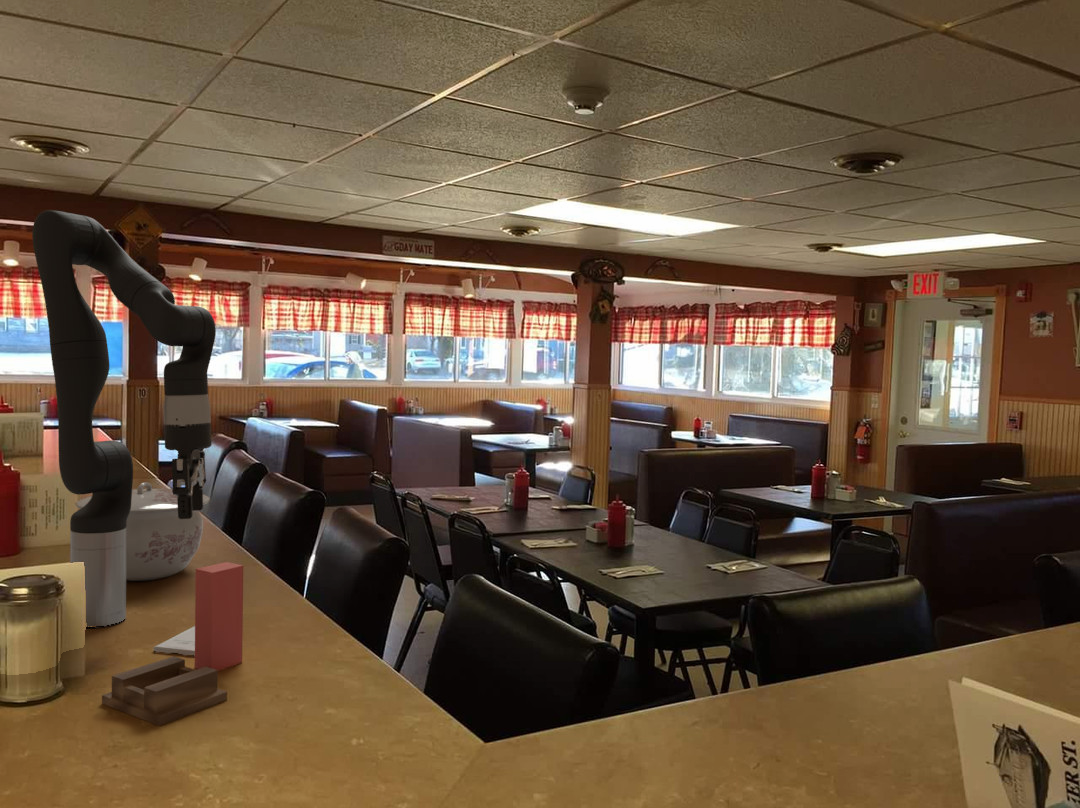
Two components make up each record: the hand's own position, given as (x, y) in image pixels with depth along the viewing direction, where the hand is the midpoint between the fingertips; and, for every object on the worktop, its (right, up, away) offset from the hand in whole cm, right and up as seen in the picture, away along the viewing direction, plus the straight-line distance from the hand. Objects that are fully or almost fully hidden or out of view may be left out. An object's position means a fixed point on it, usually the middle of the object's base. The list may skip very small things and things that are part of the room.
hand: (191, 514), depth 151 cm
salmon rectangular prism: (+9, -23, -11) cm, 27 cm away
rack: (+7, -24, -26) cm, 36 cm away
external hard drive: (+1, -23, 0) cm, 23 cm away
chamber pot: (-28, -19, +44) cm, 56 cm away
